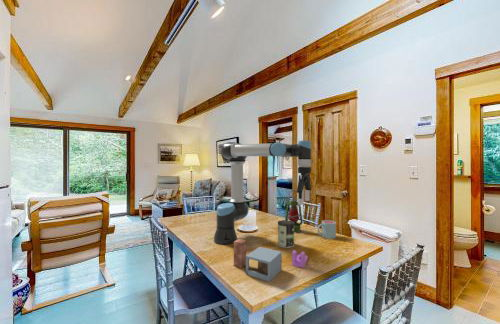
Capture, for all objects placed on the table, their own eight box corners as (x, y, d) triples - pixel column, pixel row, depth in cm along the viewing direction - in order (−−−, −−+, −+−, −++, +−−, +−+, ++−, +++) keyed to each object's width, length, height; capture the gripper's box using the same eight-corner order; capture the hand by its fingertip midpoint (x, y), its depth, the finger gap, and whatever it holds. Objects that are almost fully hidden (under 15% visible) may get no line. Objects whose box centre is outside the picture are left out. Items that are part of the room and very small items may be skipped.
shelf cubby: (246, 274, 103) (246, 255, 103) (259, 263, 114) (259, 246, 114) (269, 281, 97) (269, 262, 97) (281, 269, 108) (281, 251, 108)
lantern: (282, 230, 169) (282, 190, 169) (287, 227, 178) (287, 189, 178) (300, 233, 162) (300, 192, 162) (304, 230, 171) (305, 190, 171)
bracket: (303, 268, 110) (303, 253, 110) (292, 265, 113) (292, 251, 113) (308, 257, 122) (308, 244, 122) (298, 255, 124) (298, 243, 124)
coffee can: (294, 242, 144) (294, 220, 144) (294, 248, 134) (294, 225, 134) (278, 241, 147) (278, 219, 147) (277, 247, 136) (277, 223, 136)
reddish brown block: (233, 266, 111) (233, 241, 111) (238, 262, 116) (239, 238, 116) (267, 275, 102) (267, 249, 102) (272, 271, 106) (272, 245, 106)
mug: (329, 233, 163) (329, 219, 163) (338, 237, 154) (338, 223, 154) (313, 235, 159) (313, 221, 159) (321, 239, 150) (321, 224, 150)
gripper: (304, 167, 121) (304, 206, 121) (315, 166, 143) (315, 200, 143) (291, 166, 125) (290, 205, 125) (304, 166, 147) (303, 198, 147)
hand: (304, 202), depth 134 cm, fingers open, 13 cm apart
